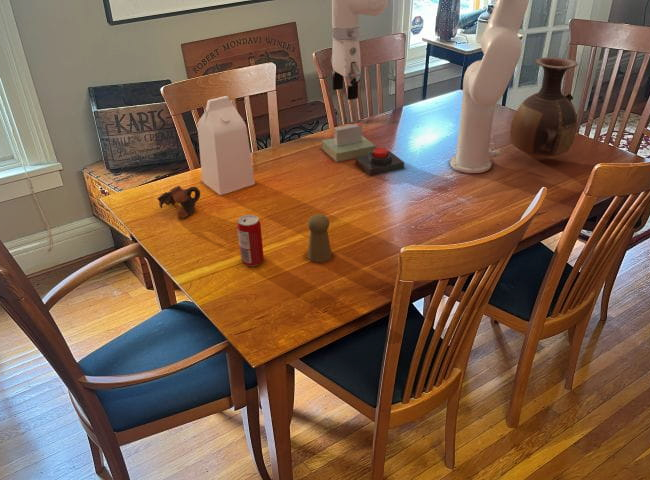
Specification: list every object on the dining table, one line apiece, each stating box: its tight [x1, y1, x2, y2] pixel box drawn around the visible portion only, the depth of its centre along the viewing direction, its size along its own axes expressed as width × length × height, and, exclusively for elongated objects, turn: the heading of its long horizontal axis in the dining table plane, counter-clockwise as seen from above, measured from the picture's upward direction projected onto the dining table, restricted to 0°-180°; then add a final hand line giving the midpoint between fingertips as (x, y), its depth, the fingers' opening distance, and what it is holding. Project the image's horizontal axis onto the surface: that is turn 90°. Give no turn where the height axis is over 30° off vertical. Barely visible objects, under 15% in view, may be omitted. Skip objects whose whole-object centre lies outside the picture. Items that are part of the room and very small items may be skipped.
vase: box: [509, 56, 579, 160], centre depth 189 cm, size 23×19×30 cm
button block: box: [355, 150, 405, 177], centre depth 195 cm, size 12×10×4 cm
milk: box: [197, 95, 256, 196], centre depth 181 cm, size 12×12×26 cm
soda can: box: [236, 214, 265, 267], centre depth 150 cm, size 6×6×12 cm
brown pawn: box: [307, 213, 332, 263], centre depth 151 cm, size 6×6×11 cm
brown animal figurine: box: [157, 185, 201, 220], centre depth 175 cm, size 12×10×8 cm
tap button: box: [373, 147, 388, 158], centre depth 193 cm, size 4×4×2 cm
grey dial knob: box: [333, 122, 363, 146], centre depth 202 cm, size 9×2×6 cm, turn 113°
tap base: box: [321, 135, 376, 163], centre depth 205 cm, size 14×13×3 cm
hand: (345, 93), depth 183 cm, fingers open, 9 cm apart
